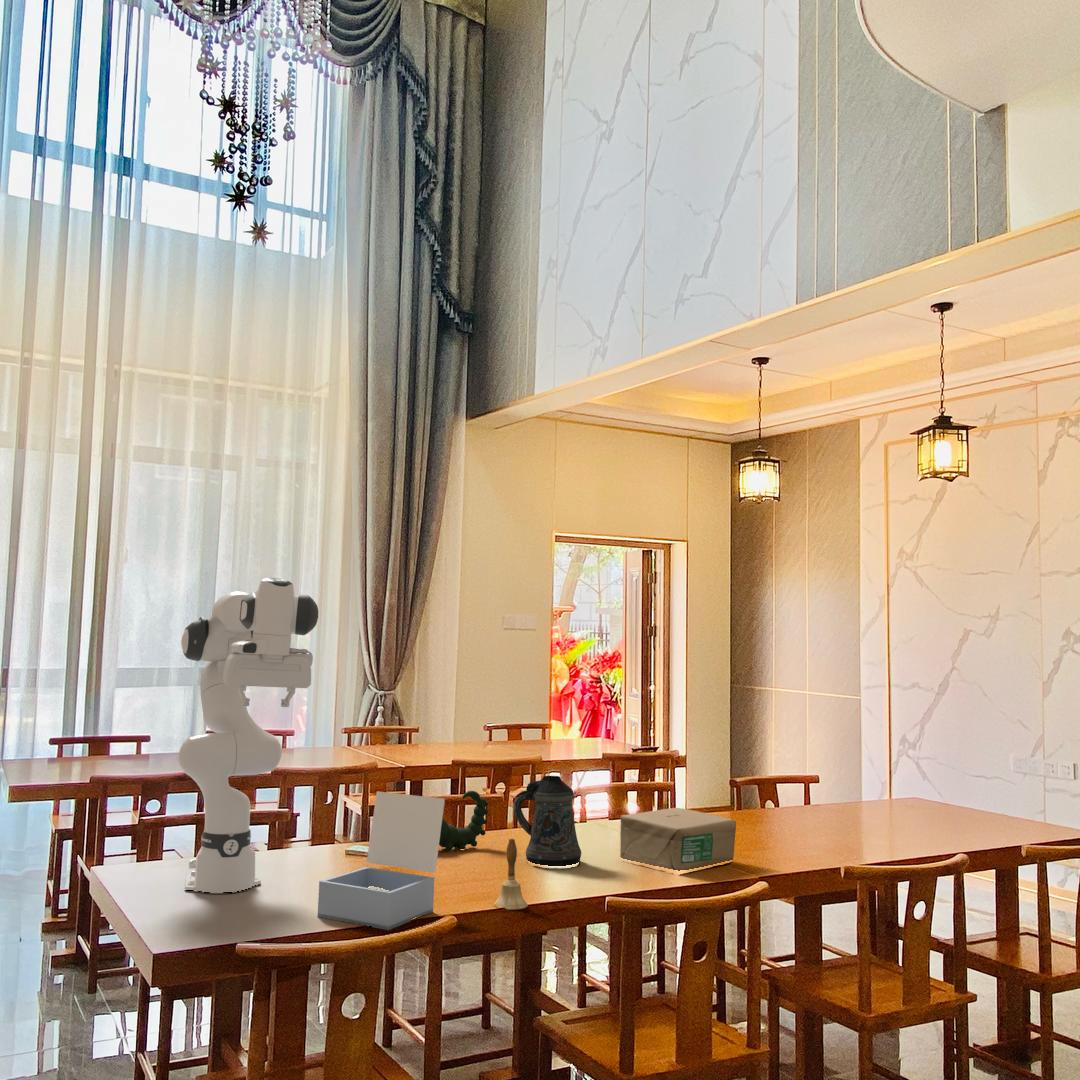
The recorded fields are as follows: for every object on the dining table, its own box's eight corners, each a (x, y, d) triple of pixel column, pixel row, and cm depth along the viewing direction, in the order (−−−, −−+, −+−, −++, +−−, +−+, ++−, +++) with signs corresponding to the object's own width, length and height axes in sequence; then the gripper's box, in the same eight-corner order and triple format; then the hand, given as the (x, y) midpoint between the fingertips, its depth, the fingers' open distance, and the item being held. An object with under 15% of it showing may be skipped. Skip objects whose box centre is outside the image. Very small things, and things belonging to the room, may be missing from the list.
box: (365, 900, 249) (366, 866, 250) (433, 911, 240) (434, 877, 240) (317, 916, 233) (319, 881, 233) (388, 930, 224) (390, 893, 224)
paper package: (680, 877, 284) (680, 826, 285) (614, 860, 303) (615, 813, 305) (739, 865, 302) (739, 817, 303) (674, 850, 321) (674, 805, 322)
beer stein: (590, 867, 292) (592, 779, 295) (528, 871, 285) (530, 781, 287) (567, 855, 307) (569, 772, 310) (507, 859, 300) (510, 774, 302)
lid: (366, 862, 249) (369, 862, 250) (433, 872, 240) (435, 872, 241) (376, 791, 253) (379, 791, 254) (442, 798, 244) (445, 798, 245)
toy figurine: (475, 850, 320) (401, 848, 309) (482, 789, 323) (408, 785, 312) (487, 856, 312) (411, 854, 301) (494, 793, 314) (419, 789, 303)
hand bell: (494, 910, 243) (496, 842, 245) (493, 901, 251) (495, 835, 253) (529, 910, 244) (530, 842, 245) (526, 901, 252) (528, 836, 254)
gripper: (309, 648, 245) (303, 706, 243) (224, 643, 234) (218, 703, 233) (318, 650, 239) (312, 708, 238) (231, 645, 229) (225, 706, 227)
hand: (265, 706), depth 235 cm, fingers open, 8 cm apart
